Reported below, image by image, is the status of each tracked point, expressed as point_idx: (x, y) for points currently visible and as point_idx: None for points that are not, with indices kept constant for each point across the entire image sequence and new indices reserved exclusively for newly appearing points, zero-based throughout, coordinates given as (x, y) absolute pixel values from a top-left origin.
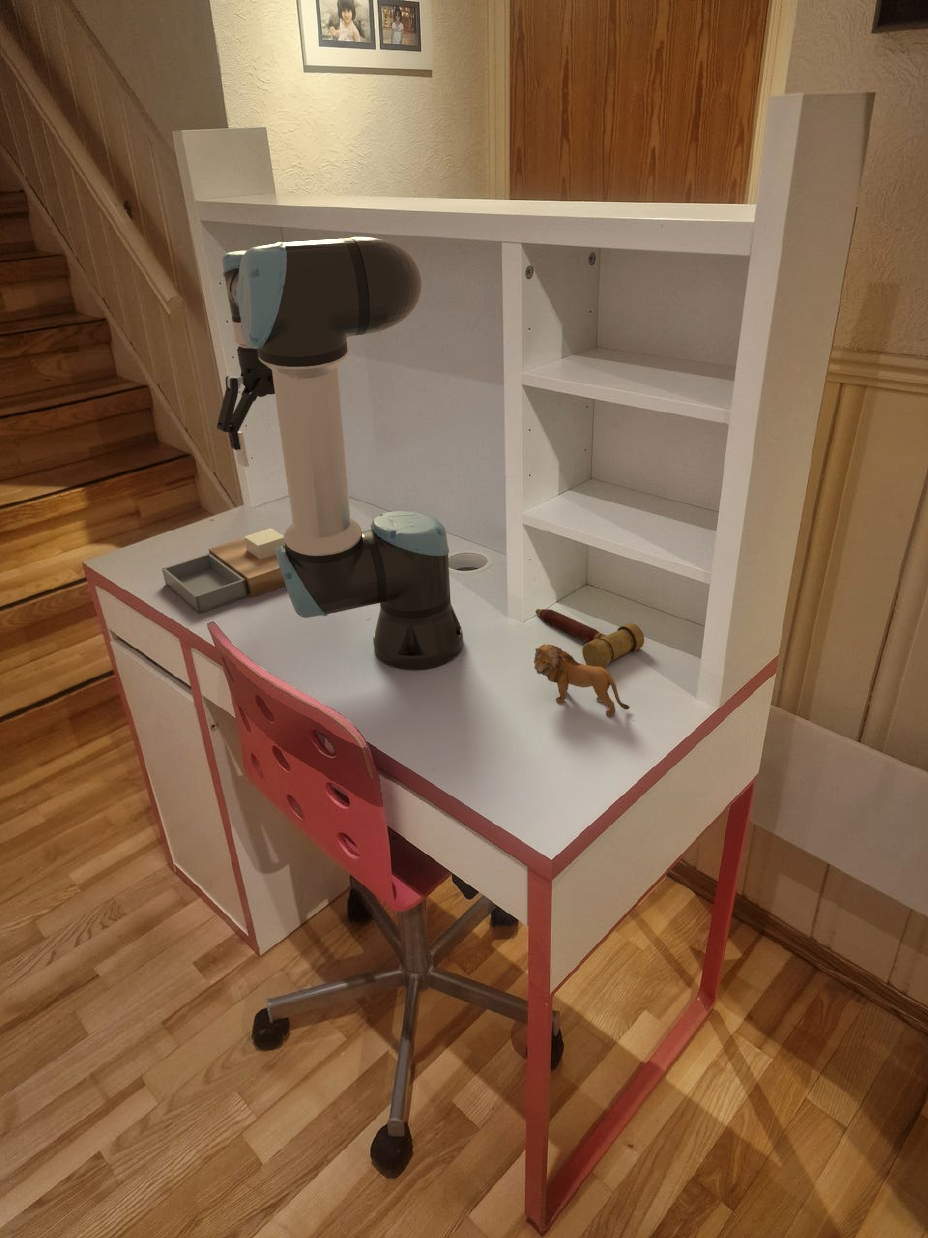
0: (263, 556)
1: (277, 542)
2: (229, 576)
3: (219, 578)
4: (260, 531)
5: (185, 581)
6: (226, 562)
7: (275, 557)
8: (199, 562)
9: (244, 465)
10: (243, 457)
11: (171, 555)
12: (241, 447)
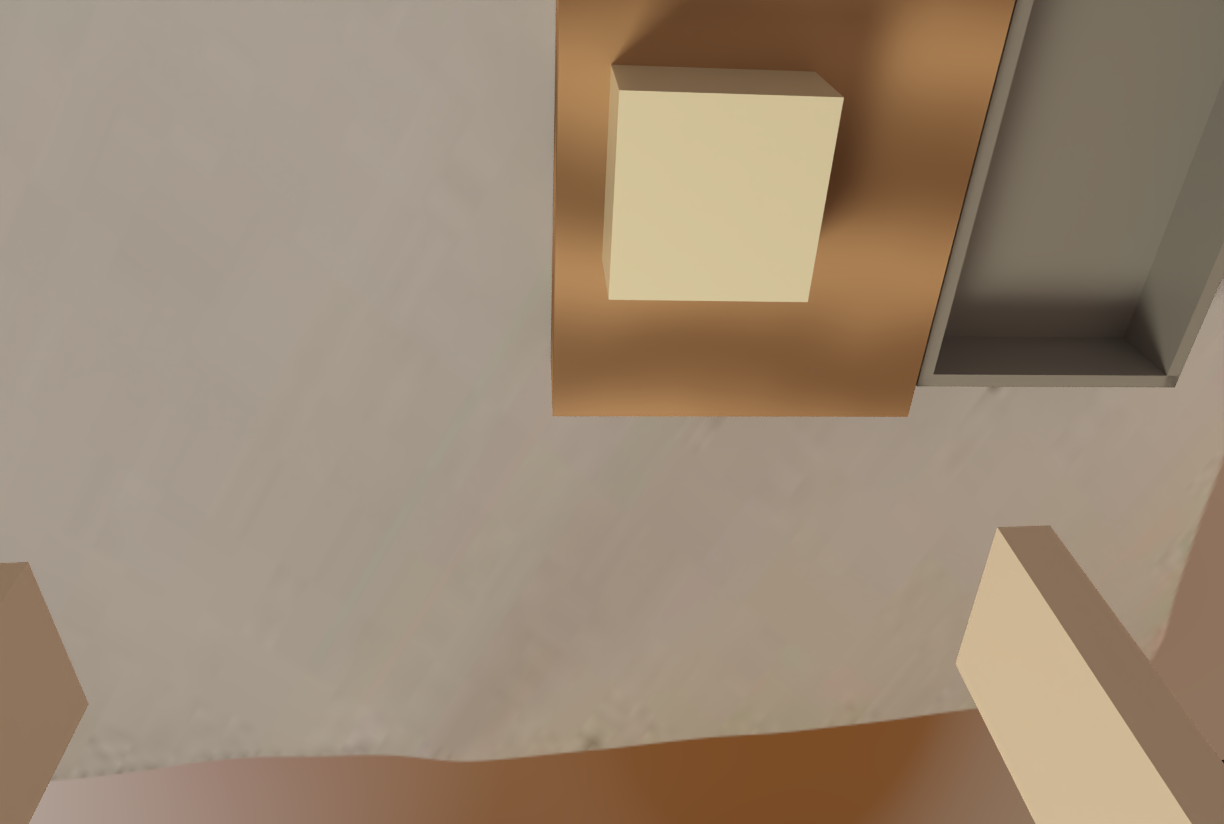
0: (793, 74)
1: (686, 85)
2: None
3: None
4: (689, 299)
5: (1078, 289)
6: (964, 195)
7: (729, 24)
8: (978, 361)
9: (1053, 546)
10: (1118, 622)
11: (910, 572)
12: (1212, 761)
